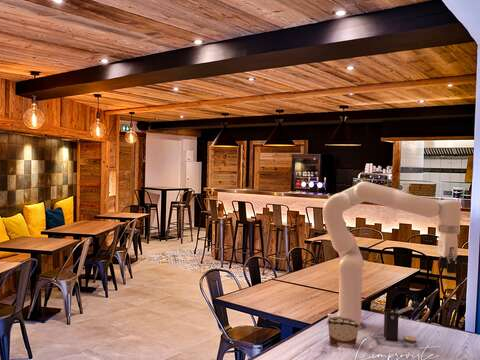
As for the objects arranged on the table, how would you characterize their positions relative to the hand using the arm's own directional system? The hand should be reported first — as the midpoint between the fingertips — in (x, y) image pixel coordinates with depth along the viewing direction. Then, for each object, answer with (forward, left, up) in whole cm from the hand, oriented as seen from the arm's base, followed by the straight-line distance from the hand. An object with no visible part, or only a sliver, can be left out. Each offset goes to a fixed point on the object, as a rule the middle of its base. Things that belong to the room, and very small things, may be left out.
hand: (447, 270), depth 193 cm
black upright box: (-23, -11, -29) cm, 38 cm away
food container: (-42, -20, -29) cm, 55 cm away
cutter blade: (-17, -11, -17) cm, 27 cm away
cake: (-16, -11, -29) cm, 35 cm away
